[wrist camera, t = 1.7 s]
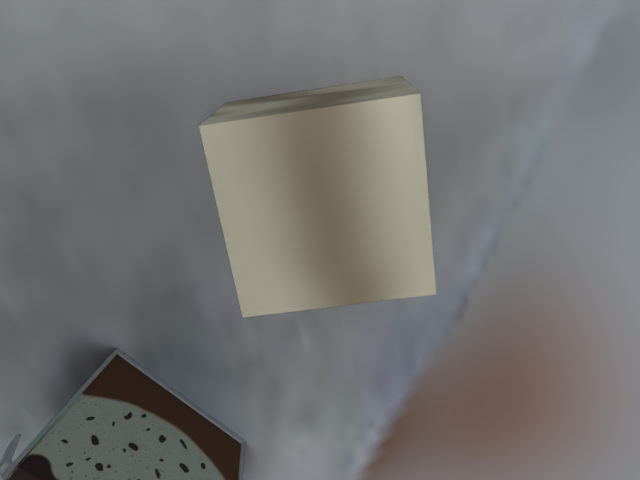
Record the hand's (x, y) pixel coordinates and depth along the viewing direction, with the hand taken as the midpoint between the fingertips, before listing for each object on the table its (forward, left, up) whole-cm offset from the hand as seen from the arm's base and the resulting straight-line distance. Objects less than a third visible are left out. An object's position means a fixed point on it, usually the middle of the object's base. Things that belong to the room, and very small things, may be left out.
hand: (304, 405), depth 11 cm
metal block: (0, 0, -18) cm, 18 cm away
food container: (-12, -14, -18) cm, 26 cm away
